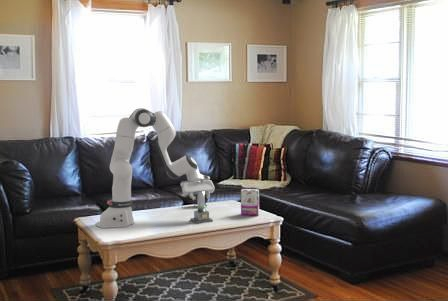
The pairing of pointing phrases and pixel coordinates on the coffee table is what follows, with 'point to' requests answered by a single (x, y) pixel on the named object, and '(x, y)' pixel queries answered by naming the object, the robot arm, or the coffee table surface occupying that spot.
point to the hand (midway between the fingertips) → (201, 198)
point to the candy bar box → (250, 202)
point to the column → (201, 201)
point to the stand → (201, 217)
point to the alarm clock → (197, 199)
